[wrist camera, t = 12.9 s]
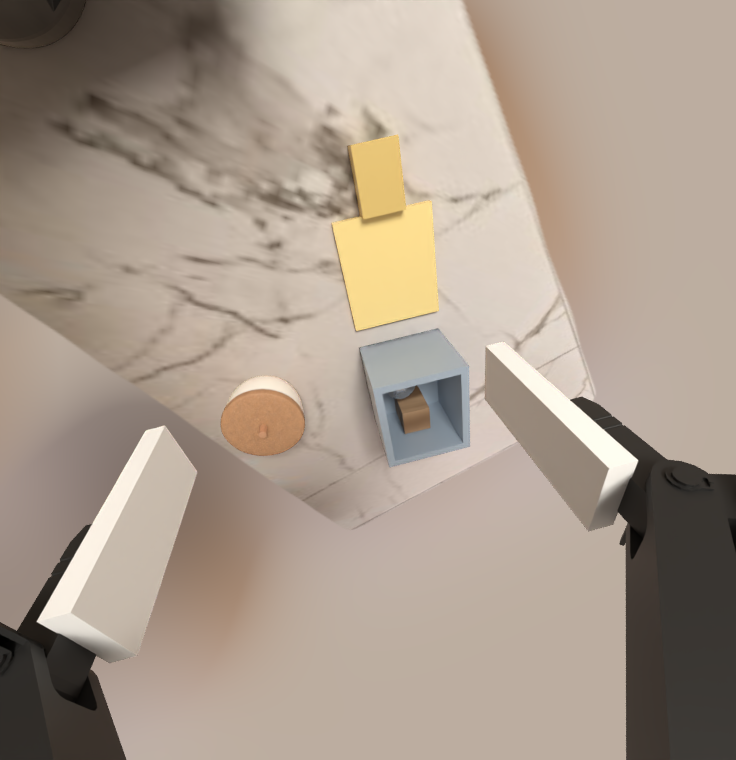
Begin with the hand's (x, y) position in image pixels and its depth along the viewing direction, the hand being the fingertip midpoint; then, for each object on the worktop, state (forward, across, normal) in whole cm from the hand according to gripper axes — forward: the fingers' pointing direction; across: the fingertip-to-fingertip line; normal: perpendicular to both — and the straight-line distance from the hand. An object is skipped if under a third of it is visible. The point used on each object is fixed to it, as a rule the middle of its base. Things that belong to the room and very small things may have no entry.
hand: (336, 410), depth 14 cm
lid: (+33, +9, -1) cm, 34 cm away
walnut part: (+32, +9, -26) cm, 42 cm away
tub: (+33, +9, -22) cm, 40 cm away
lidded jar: (+33, -12, -19) cm, 40 cm away
